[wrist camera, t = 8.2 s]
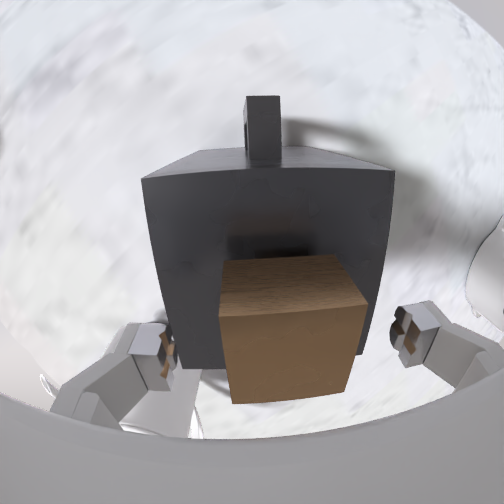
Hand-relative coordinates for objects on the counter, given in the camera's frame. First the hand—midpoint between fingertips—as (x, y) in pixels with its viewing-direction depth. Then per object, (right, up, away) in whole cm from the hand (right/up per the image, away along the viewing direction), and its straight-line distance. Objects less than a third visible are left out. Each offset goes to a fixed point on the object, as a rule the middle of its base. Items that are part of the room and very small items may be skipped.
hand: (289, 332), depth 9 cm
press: (-1, +9, +17) cm, 19 cm away
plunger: (-1, +7, +16) cm, 18 cm away
